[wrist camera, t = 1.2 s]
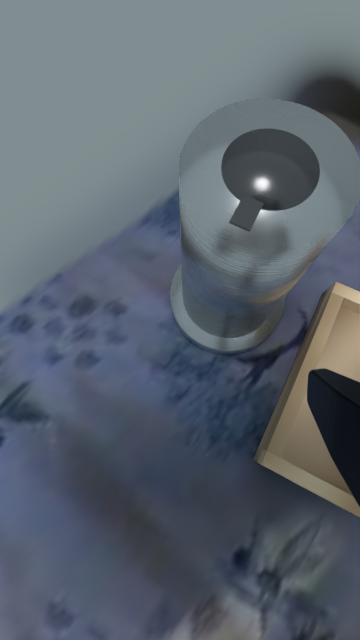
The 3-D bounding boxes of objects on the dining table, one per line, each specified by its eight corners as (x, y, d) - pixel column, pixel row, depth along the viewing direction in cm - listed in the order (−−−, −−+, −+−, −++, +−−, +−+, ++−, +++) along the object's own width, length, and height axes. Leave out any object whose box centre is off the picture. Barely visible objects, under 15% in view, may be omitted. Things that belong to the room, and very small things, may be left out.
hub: (295, 279, 24) (418, 124, 11) (253, 374, 22) (343, 316, 9) (200, 237, 25) (215, 53, 12) (152, 324, 23) (111, 212, 10)
